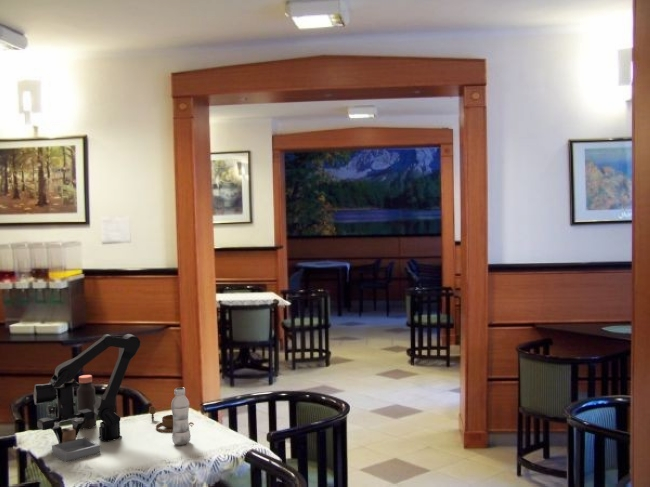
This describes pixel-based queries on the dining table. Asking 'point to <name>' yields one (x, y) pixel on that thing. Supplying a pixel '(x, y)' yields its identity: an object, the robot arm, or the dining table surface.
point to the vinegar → (86, 399)
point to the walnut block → (68, 434)
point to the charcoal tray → (75, 449)
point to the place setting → (164, 421)
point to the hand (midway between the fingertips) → (67, 442)
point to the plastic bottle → (180, 417)
